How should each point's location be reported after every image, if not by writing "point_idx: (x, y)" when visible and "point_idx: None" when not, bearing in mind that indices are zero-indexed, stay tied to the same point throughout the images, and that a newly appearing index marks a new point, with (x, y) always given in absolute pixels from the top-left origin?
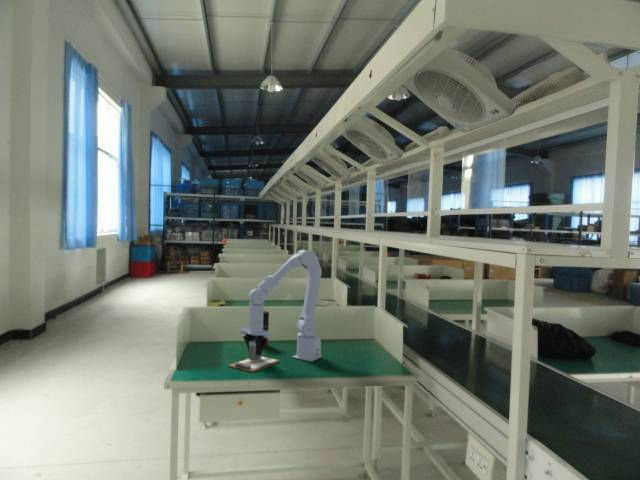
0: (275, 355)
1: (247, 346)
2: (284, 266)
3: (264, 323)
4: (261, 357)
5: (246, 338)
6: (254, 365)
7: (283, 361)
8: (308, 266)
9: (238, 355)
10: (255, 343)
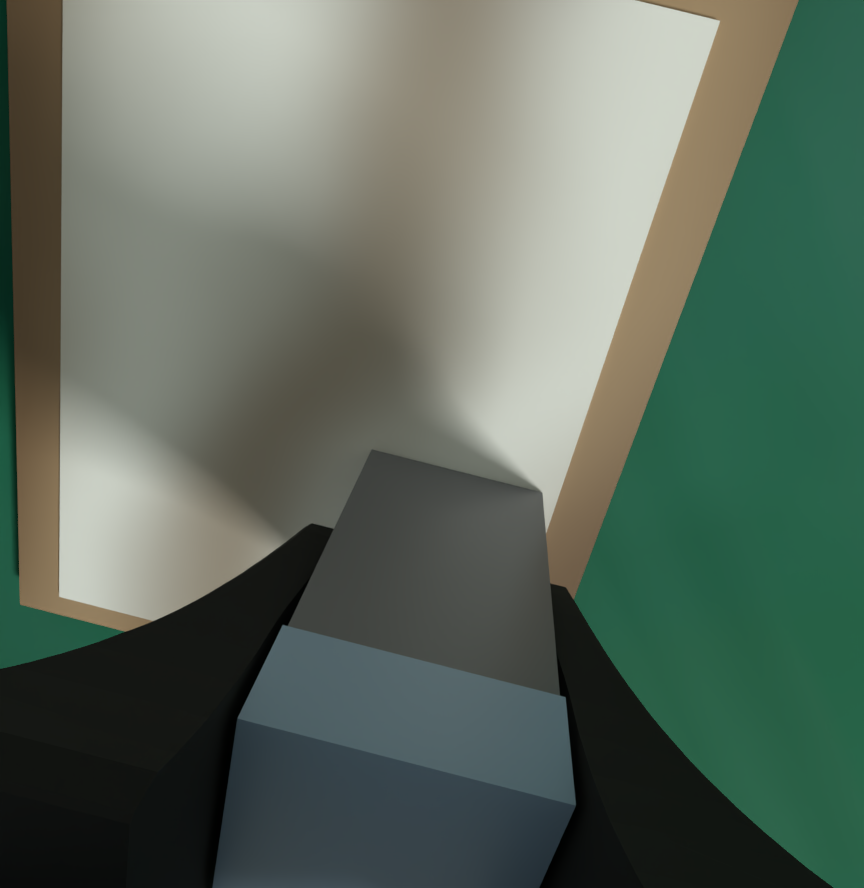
0: None
1: (622, 686)
2: None
3: None
4: None
5: (697, 883)
6: (220, 131)
7: (5, 621)
8: None
9: (859, 702)
10: (272, 695)
